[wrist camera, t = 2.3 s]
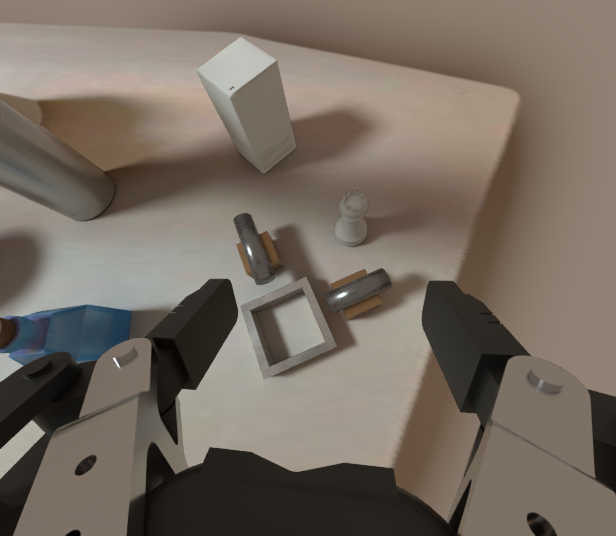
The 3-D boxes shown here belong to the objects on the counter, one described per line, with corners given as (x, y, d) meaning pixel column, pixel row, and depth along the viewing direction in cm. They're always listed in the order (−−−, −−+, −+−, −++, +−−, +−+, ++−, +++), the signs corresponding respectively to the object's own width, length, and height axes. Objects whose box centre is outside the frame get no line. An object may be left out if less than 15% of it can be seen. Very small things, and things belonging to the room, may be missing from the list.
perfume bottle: (131, 311, 33) (24, 295, 22) (126, 357, 31) (5, 366, 20) (91, 316, 34) (-33, 304, 22) (84, 362, 32) (-57, 374, 21)
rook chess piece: (342, 252, 32) (344, 225, 24) (329, 226, 33) (326, 192, 26) (372, 239, 32) (383, 208, 24) (357, 213, 33) (363, 176, 26)
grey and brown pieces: (225, 245, 34) (206, 229, 29) (331, 198, 35) (330, 174, 29) (269, 376, 28) (254, 384, 23) (397, 319, 29) (410, 314, 23)
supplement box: (298, 147, 38) (279, 59, 26) (263, 176, 37) (227, 98, 25) (270, 124, 40) (241, 33, 28) (236, 151, 40) (192, 68, 28)
